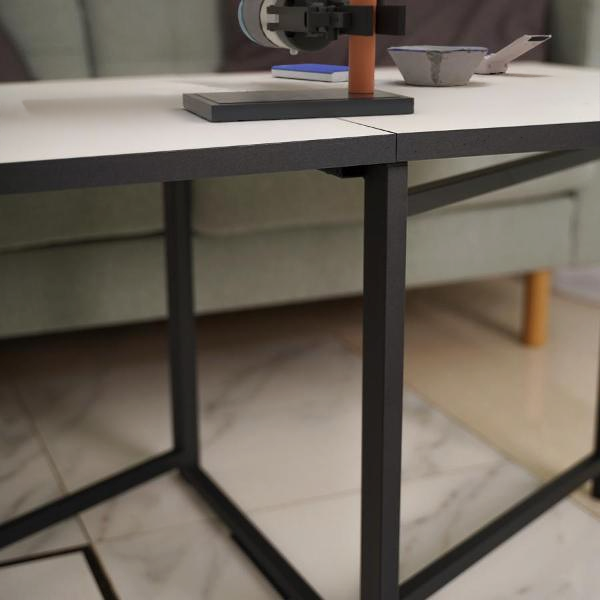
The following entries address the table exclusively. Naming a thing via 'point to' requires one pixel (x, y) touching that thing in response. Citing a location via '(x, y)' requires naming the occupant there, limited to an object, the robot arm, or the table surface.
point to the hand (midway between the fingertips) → (385, 20)
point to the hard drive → (312, 72)
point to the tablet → (294, 104)
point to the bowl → (437, 64)
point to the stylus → (362, 57)
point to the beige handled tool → (509, 54)
